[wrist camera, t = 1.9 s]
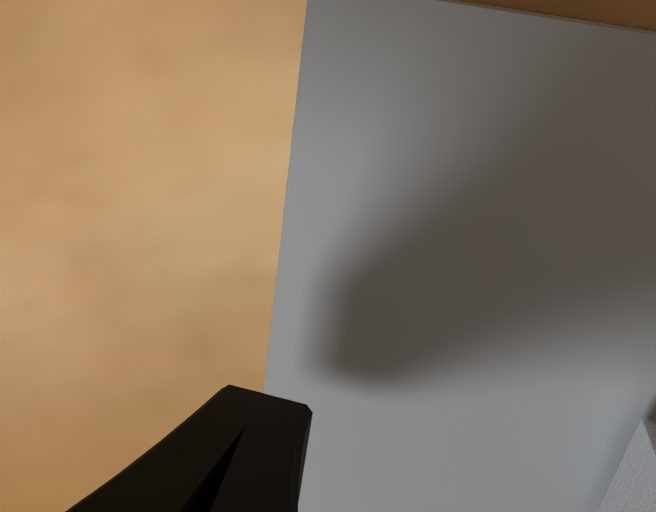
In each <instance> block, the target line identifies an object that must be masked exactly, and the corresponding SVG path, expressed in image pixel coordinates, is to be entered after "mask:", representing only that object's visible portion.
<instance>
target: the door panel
mask: <svg viewBox="0 0 656 512" xmlns="http://www.w3.org/2000/svg"><path fill="white" fill-rule="evenodd" d="M264 394H268V395H272V396H276V397H280V398H284V399H288V400H292V401H296V402H299V403H303V404H307V405H308V407H309V408H310V409H311V411H312V412H313V415H312V421H311V427H310V434H309V440H308V446H307V452H306V459H305V465H304V471H303V478H302V484H301V490H300V496H299V501H298V512H597V511H598V509H599V507H600V505H601V503H602V501H603V499H604V496H605V494H606V492H607V490H608V488H609V486H610V484H611V481H612V479H613V477H614V475H615V473H616V471H617V469H618V467H619V464H620V462H621V460H622V458H623V456H624V454H625V452H626V450H627V447H628V445H629V443H630V441H631V439H632V437H633V435H634V432H635V430H636V428H637V426H638V424H639V422H640V420H641V418H645V419H649V420H653V421H656V31H651V30H644V29H638V28H632V27H625V26H619V25H613V24H606V23H600V22H594V21H587V20H581V19H575V18H568V17H562V16H556V15H549V14H543V13H537V12H530V11H524V10H517V9H511V8H505V7H498V6H492V5H486V4H479V3H473V2H467V1H460V0H307V8H306V17H305V26H304V35H303V44H302V53H301V62H300V71H299V80H298V89H297V98H296V107H295V116H294V125H293V134H292V143H291V152H290V161H289V170H288V179H287V188H286V197H285V206H284V215H283V224H282V233H281V242H280V251H279V260H278V269H277V278H276V287H275V296H274V304H273V313H272V322H271V331H270V340H269V349H268V358H267V367H266V376H265V385H264Z"/></svg>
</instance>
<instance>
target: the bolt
mask: <svg viewBox="0 0 656 512" xmlns="http://www.w3.org/2000/svg"><path fill="white" fill-rule="evenodd" d="M597 512H656V421H653V420H649V419H645V418H641V420H640V422H639V424H638V426H637V428H636V430H635V432H634V435H633V437H632V439H631V441H630V443H629V445H628V447H627V450H626V452H625V454H624V456H623V458H622V460H621V462H620V464H619V467H618V469H617V471H616V473H615V475H614V477H613V479H612V481H611V484H610V486H609V488H608V490H607V492H606V494H605V496H604V499H603V501H602V503H601V505H600V507H599V509H598V511H597Z"/></svg>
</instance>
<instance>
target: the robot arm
mask: <svg viewBox="0 0 656 512" xmlns="http://www.w3.org/2000/svg"><path fill="white" fill-rule="evenodd" d="M312 415H313V412H312V411H311V409H310V408H309V407H308V405H307V404H303V403H299V402H296V401H292V400H288V399H284V398H280V397H276V396H272V395H268V394H264V393H260V392H256V391H252V390H248V389H244V388H240V387H236V386H233V385H227V386H226V387H224V388H222V389H221V390H220V391H218V392H217V393H216V394H215V395H214V396H213V397H212V398H210V399H209V400H208V401H207V402H206V403H205V404H204V405H202V406H201V407H200V408H199V409H198V410H197V411H196V412H194V413H193V414H192V415H191V416H190V417H189V418H187V419H186V420H185V421H184V422H183V423H181V424H180V425H179V426H178V427H177V428H175V429H174V430H173V431H172V432H171V433H169V434H168V435H167V436H166V437H165V438H163V439H162V440H161V441H160V442H158V443H157V444H156V445H155V446H153V447H152V448H151V449H149V450H148V451H147V452H146V453H144V454H143V455H142V456H140V457H139V458H138V459H137V460H135V461H134V462H133V463H132V464H130V465H129V466H128V467H126V468H125V469H124V470H123V471H121V472H120V473H119V474H117V475H116V476H115V477H113V478H112V479H111V480H109V481H108V482H107V483H105V484H104V485H102V486H101V487H99V488H98V489H97V490H95V491H94V492H92V493H91V494H90V495H88V496H87V497H85V498H84V499H82V500H81V501H80V502H78V503H77V504H75V505H74V506H73V507H71V508H70V509H68V510H67V511H66V512H298V501H299V496H300V490H301V484H302V478H303V471H304V465H305V459H306V452H307V446H308V440H309V434H310V427H311V421H312Z"/></svg>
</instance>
